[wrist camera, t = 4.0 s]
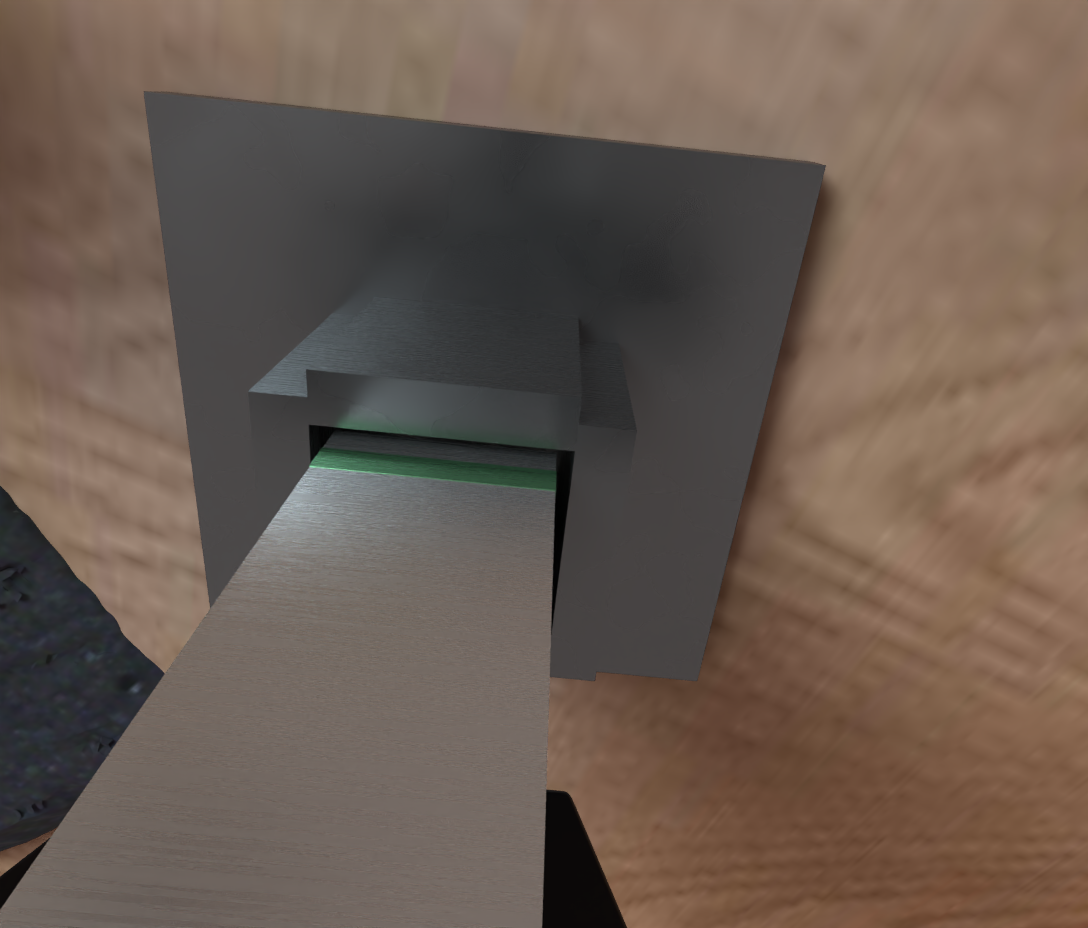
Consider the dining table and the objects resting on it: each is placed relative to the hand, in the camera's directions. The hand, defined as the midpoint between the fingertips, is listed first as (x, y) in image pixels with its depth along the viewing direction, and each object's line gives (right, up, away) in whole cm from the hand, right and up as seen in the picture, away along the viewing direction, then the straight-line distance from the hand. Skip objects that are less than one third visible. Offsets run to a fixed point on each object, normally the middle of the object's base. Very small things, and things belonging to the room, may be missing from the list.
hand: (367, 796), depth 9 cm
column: (0, +3, +5) cm, 6 cm away
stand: (0, +5, +10) cm, 11 cm away
